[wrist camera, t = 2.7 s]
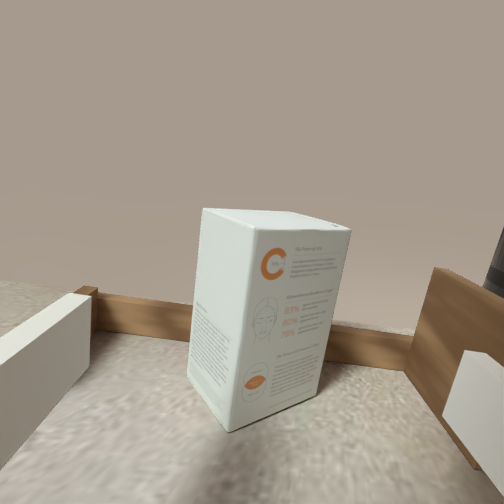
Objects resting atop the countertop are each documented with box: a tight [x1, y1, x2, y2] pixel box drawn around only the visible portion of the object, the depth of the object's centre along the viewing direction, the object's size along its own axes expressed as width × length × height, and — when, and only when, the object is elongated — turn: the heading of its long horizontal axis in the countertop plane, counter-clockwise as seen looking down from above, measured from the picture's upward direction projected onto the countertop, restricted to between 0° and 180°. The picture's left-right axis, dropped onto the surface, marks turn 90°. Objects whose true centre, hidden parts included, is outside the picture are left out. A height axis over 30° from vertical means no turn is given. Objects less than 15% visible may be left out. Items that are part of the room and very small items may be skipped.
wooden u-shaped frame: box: [74, 267, 504, 470], centre depth 24 cm, size 30×11×10 cm, turn 89°
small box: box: [187, 208, 351, 432], centre depth 23 cm, size 8×6×13 cm
